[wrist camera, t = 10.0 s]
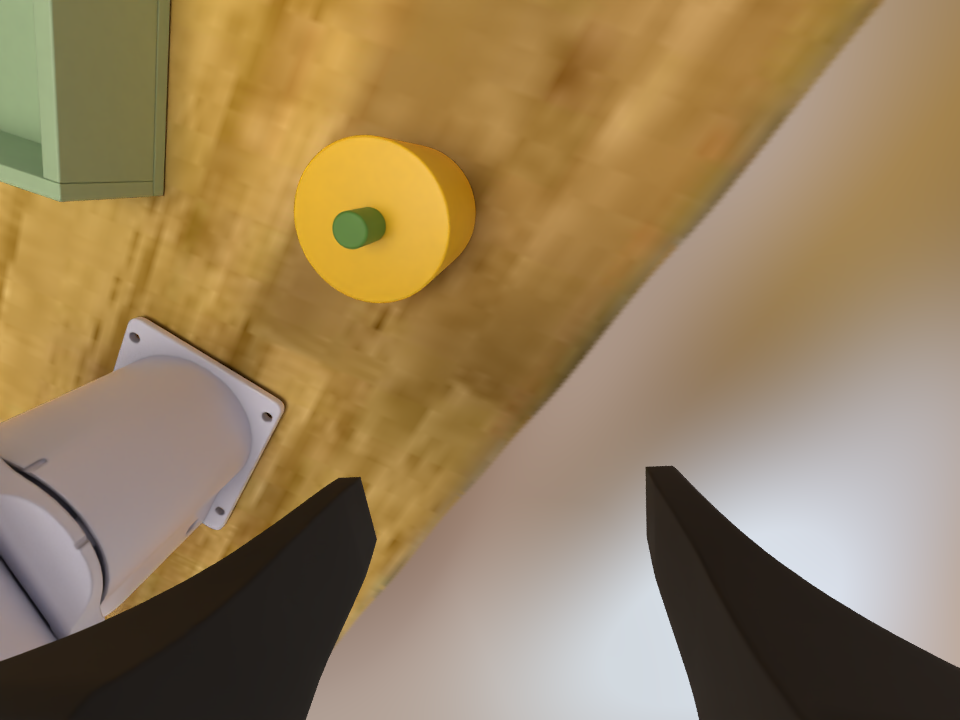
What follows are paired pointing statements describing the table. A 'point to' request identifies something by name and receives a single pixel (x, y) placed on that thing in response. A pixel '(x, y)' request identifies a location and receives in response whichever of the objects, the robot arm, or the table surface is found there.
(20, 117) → the basket
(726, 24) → the table surface
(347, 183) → the pepper
